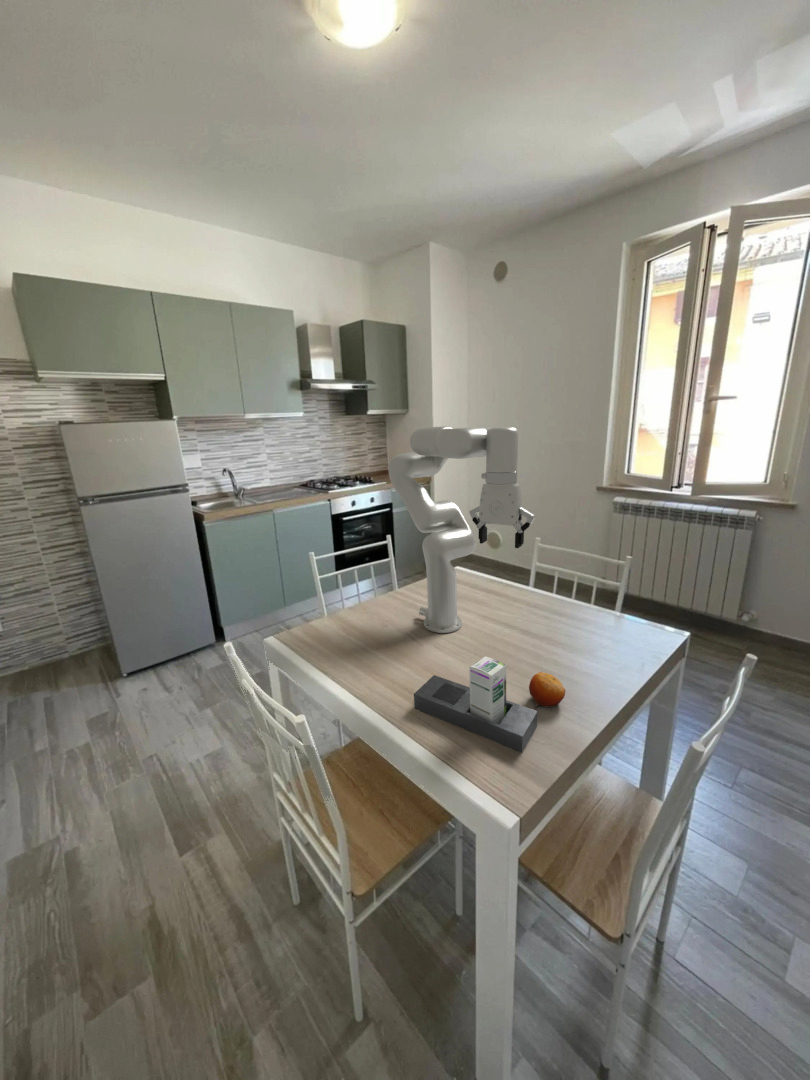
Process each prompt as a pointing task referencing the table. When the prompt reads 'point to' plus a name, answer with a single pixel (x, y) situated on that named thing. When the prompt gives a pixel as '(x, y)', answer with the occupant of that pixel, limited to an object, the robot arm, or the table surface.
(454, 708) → the grey slotted holder
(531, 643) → the table surface
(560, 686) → the fruit
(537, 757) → the table surface
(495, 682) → the syrup box
